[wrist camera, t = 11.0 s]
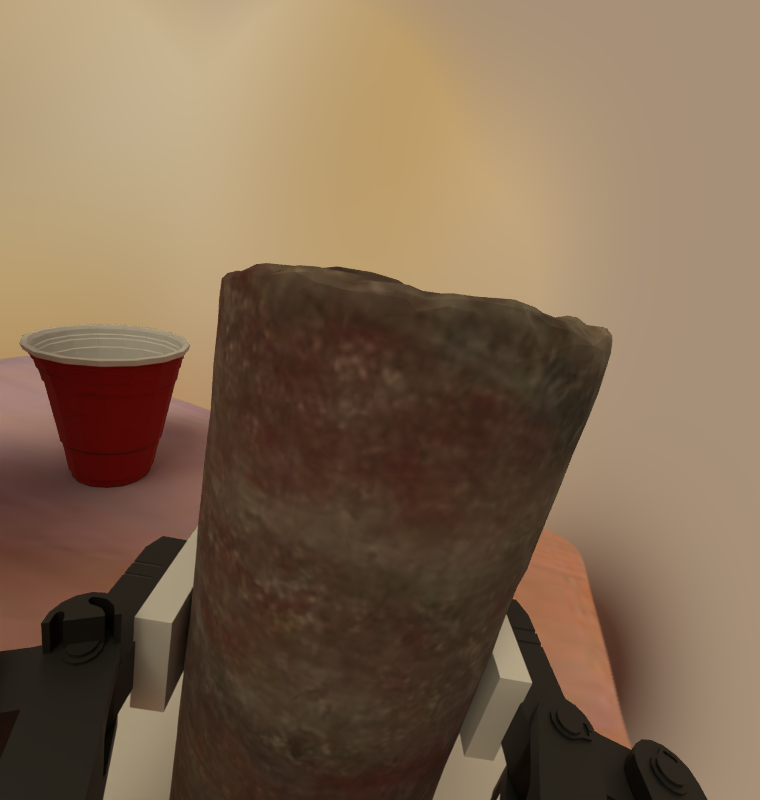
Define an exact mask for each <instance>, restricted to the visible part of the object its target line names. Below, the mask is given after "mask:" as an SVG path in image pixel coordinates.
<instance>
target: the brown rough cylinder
mask: <svg viewBox="0 0 760 800" xmlns="http://www.w3.org/2000/svg"><path fill="white" fill-rule="evenodd" d="M611 347H612V335H611V333H610V332H609V331H608V329H607V328H606V329H605V328H604V327H597V326H589V325H586V324H585V323H583V322H582V321H581V320H580V319H578V318H577V317H571V316H563V317H556V318H555V317H552V316H550V315H547V314H544V313H542V312H541V311H539V310H538V309H537V308H535V307H533V306H530V305H527V304H524V303H522V302H519V301H516V300H512V299H500V298H487V297H474V296H466V295H459V294H440V293H433V292H426V291H421V290H419V289H417V288H414V287H412V286H410V285H405V284H403V283H402V282H400V281H399V280H396V279H393V278H389V277H386V276H382V275H379V274H376V273H372V272H367V271H361V270H355V269H348V268H342V267H329V268H321V267H314V266H301V265H300V266H290V265H279V264H268V263H265V264H256V265H254V266H252V267H250V268H248V269H245V270H243V271H234V272H230V273H227V274H226V275H225V276H224V277H223V278H222V281H221V289H220V297H219V314H218V326H217V337H216V346H215V356H214V366H213V383H212V399H211V414H210V421H209V429H208V437H207V446H206V454H205V464H204V474H203V484H202V495H201V504H200V513H199V522H198V531H197V548H196V559H195V571H194V582H193V593H192V605H191V616H190V624H189V630H188V637H187V645H186V653H185V663H184V673H183V682H182V690H181V698H180V707H179V716H178V726H177V737H176V745H175V754H174V763H173V772H172V781H171V790H170V797H169V800H433V797H434V794H435V791H436V789H437V786H438V783H439V781H440V778H441V775H442V773H443V770H444V768H445V765H446V763H447V760H448V758H449V756H450V754H451V751H452V749H453V747H454V744H455V742H456V740H457V738H458V735H459V733H460V730H461V727H462V724H463V722H464V719H465V717H466V714H467V712H468V709H469V707H470V705H471V702H472V700H473V697H474V695H475V693H476V690H477V688H478V685H479V683H480V681H481V678H482V676H483V673H484V671H485V668H486V666H487V663H488V661H489V658H490V656H491V654H492V652H493V650H494V647H495V644H496V641H497V638H498V635H499V632H500V630H501V627H502V624H503V622H504V619H505V616H506V614H507V611H508V609H509V606H510V604H511V601H512V598H513V596H514V593H515V591H516V588H517V586H518V584H519V582H520V581H521V579H522V577H523V575H524V574H525V572H526V570H527V568H528V565H529V562H530V560H531V557H532V554H533V552H534V549H535V547H536V544H537V542H538V540H539V537H540V535H541V532H542V530H543V527H544V525H545V522H546V520H547V517H548V515H549V512H550V510H551V508H552V505H553V503H554V500H555V498H556V495H557V493H558V491H559V488H560V486H561V483H562V481H563V478H564V475H565V473H566V470H567V468H568V465H569V463H570V460H571V457H572V455H573V452H574V450H575V448H576V446H577V443H578V441H579V439H580V436H581V434H582V432H583V429H584V427H585V425H586V422H587V420H588V417H589V415H590V412H591V410H592V407H593V405H594V402H595V400H596V397H597V395H598V392H599V389H600V386H601V383H602V380H603V376H604V373H605V370H606V367H607V364H608V360H609V357H610V354H611Z"/></svg>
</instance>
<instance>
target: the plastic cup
mask: <svg viewBox="0 0 760 800" xmlns="http://www.w3.org/2000/svg"><path fill="white" fill-rule="evenodd" d="M19 344H20V345H21V347H22V349H23V350H25V351H26V352H28V354H30V356H31V358H32V359H33V360H34V363H35V366H36V368H38V370H39V373H40V376H41V379H42V380H43V381H44V383H45V387H46V390H47V394H48V398H49V401H50V405H51V408H52V412H53V416H54V419H55V423H56V426H57V430H58V434H59V437H60V441H61V442H62V443H63V446H64V450H65V455H66V459H67V463H68V467H69V470H70V471H71V473H72V476H73V477H74V478H75V479H76V480H77V481H78V482H80V483H83V484H86V485H90V486H98V487H112V486H121V485H126V484H129V483H132V482H135V481H138V480H139V479H141V478H142V477H144V476H146V475H147V473H148V472H149V470H150V468H151V465H152V464H153V462H154V458H155V454H156V450H157V446H158V442H159V439H160V437H161V436H162V432H163V428H164V424H165V420H166V416H167V412H168V408H169V404H170V401H171V397H172V393H173V388H174V384H175V381H176V380H177V377H178V372H179V368H180V367H181V363H182V359H183V358H184V355H185V353H186V352H187V351H188V350H189V347H190V344H189V342H188V341H187V340H186V339H185V338H184V337H181V336H179V335H176V334H174V333H171V332H167V331H162V330H157V329H152V328H146V327H137V326H127V325H103V324H87V325H66V326H59V327H52V328H45V329H40V330H36V331H34V332H31V333H28V334H26V335H23V336H22V338H21V341H20V343H19Z"/></svg>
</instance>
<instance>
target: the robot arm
mask: <svg viewBox="0 0 760 800" xmlns="http://www.w3.org/2000/svg"><path fill="white" fill-rule="evenodd" d="M197 531H198V526H197V527H196V529H195V530H194V532H193V533H192V535H191V536H190V538H189V539H188V540H182V539H176V538H171V537H165V536H163V537H161V538H159V539H158V540H156V541H155V542H153V543H151V544H150V545H148V546H146V548H145V549H144V550H143V551H142V552H141V554H140V555H139V556H138V557H137V558H136V560H135V562H134V564H133V563H132V565H131V566H130V567H129V568H128V569H127V571H126V572H125V574H124V575H122V577H121V578H120V579H119V580H118V582H117V583H116V584H115V585H114V586H113V588H112V589H111V590H110V591H109V592H108V594H107V593H97V592H91V593H86V594H82V595H77V596H75V597H73V598H70V599H68V600H66V601H64V602H62V603H60V604H59V605H58V606H57V607H55V608H54V609H53V610H51V611H50V612H49V613H48V615H47V616H46V617H45V619H44V620H43V622H42V623H41V628H42V645H41V646H37V647H32V648H24V649H16V650H8V651H0V800H103V797H104V792H105V787H106V782H107V777H108V772H109V766H110V761H111V756H112V751H113V746H114V741H115V736H116V730H117V724H118V713H119V711H120V710H121V708H122V706H123V704H124V703H125V701H126V699H127V697H128V696H129V694H130V692H131V694H130V708H137V709H144V710H151V711H157V712H164V711H165V709H166V707H167V705H168V702H169V700H170V698H171V696H172V694H173V692H174V690H175V688H176V686H177V684H178V681H179V679H180V677H181V675H182V673H183V671H184V663H185V653H186V645H187V637H188V630H189V624H190V616H191V605H192V593H193V582H194V571H195V559H196V548H197ZM460 737H461V742H462V748H463V754H464V757H470V758H477V759H484V760H490V761H494V759H495V757H496V755H497V753H498V751H499V749H500V747H501V746H502V749H503V753H504V757H505V761H506V766H505V768H504V770H503V772H502V774H501V776H500V778H499V780H498V782H497V784H496V786H495V787H494V789H493V792H492V796H491V800H497V798H498V796H499V794H500V800H707V798H706V796H705V794H704V793H703V791H702V789H701V787H700V785H699V783H698V782H697V781H696V779H695V777H694V776H693V774H692V773H691V771H690V770H689V768H688V767H687V766H686V765H685V764H684V763H683V762H682V761H681V760H680V759H679V758H678V757H677V756H676V755H675V754H674V753H672V752H671V751H670V750H668V749H667V748H666V747H664V746H663V745H661V744H658V743H656V742H654V741H652V740H640V741H639V742H637V743H636V744H635V746H634V747H633V748H632V750H630V749H628V748H626V747H624V746H622V745H620V744H618V743H616V742H614V741H612V740H610V739H608V738H606V737H604V736H602V735H600V734H599V733H597V732H595V731H594V729H593V727H592V725H591V724H590V722H589V721H588V719H587V717H586V716H585V715H584V714H583V713H582V712H581V711H580V710H579V709H578V708H577V707H576V706H575V705H574V704H572V703H571V702H569V701H568V700H566V699H565V697H564V695H563V693H562V691H561V688H560V686H559V684H558V682H557V679H556V677H555V675H554V673H553V670H552V668H551V666H550V663H549V661H548V659H547V657H546V654H545V652H544V650H543V647H541V643H540V641H539V638H538V636H537V634H535V629H534V627H533V625H532V622H531V620H530V618H529V616H528V614H527V613H526V612H525V610H524V609H523V608H522V607H521V605H520V604H519V603H518V602H517V601H516V600H514V599H512V601H511V604H510V606H509V609H508V611H507V614H506V616H505V619H504V622H503V624H502V627H501V630H500V632H499V635H498V638H497V641H496V644H495V647H494V650H493V652H492V654H491V656H490V658H489V661H488V663H487V666H486V668H485V671H484V673H483V676H482V678H481V681H480V683H479V685H478V688H477V690H476V693H475V695H474V697H473V700H472V702H471V705H470V707H469V709H468V712H467V714H466V717H465V719H464V722H463V724H462V727H461V730H460Z"/></svg>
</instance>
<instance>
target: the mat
mask: <svg viewBox="0 0 760 800" xmlns="http://www.w3.org/2000/svg"><path fill="white" fill-rule="evenodd" d="M183 673H184V671H183ZM183 673H182V675H181V677H180V679H179V681H178V684H177V686H176V688H175V690H174V692H173V694H172V696H171V698H170V700H169V702H168V705H167V707H166V709H165V711H164V712H157V711H151V710H144V709H137V708H130V694H131V692H130V694H129V696H128V697H127V699H126V701H125V703H124V704H123V706H122V708H121V710H120V711H119V713H118V724H117V730H116V736H115V741H114V746H113V751H112V756H111V761H110V766H109V772H108V777H107V782H106V787H105V792H104V797H103V800H169V797H170V790H171V781H172V772H173V763H174V754H175V745H176V737H177V726H178V716H179V707H180V698H181V690H182V682H183ZM505 766H506V761H505V757H504V753H503V749H502V746H501V747H500V749H499V751H498V753H497V755H496V757H495V759H494V761H490V760H484V759H477V758H470V757H464V754H463V748H462V742H461V737H460V733H459V735H458V738H457V740H456V742H455V744H454V747H453V749H452V751H451V754H450V756H449V758H448V760H447V763H446V765H445V768H444V770H443V773H442V775H441V778H440V781H439V783H438V786H437V789H436V791H435V794H434V797H433V800H491V796H492V792H493V789H494V787H495V786H496V784H497V782H498V780H499V778H500V776H501V774H502V772H503V770H504V768H505ZM497 800H500V794H499V796H498V798H497Z"/></svg>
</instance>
